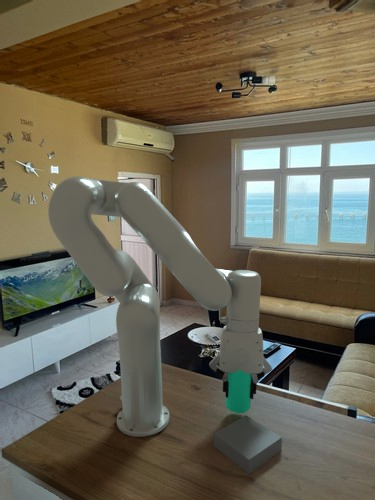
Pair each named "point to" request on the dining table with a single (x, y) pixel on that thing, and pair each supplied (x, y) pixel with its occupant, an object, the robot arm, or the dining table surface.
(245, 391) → the candle
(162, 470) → the dining table surface
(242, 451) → the plinth
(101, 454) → the dining table surface
